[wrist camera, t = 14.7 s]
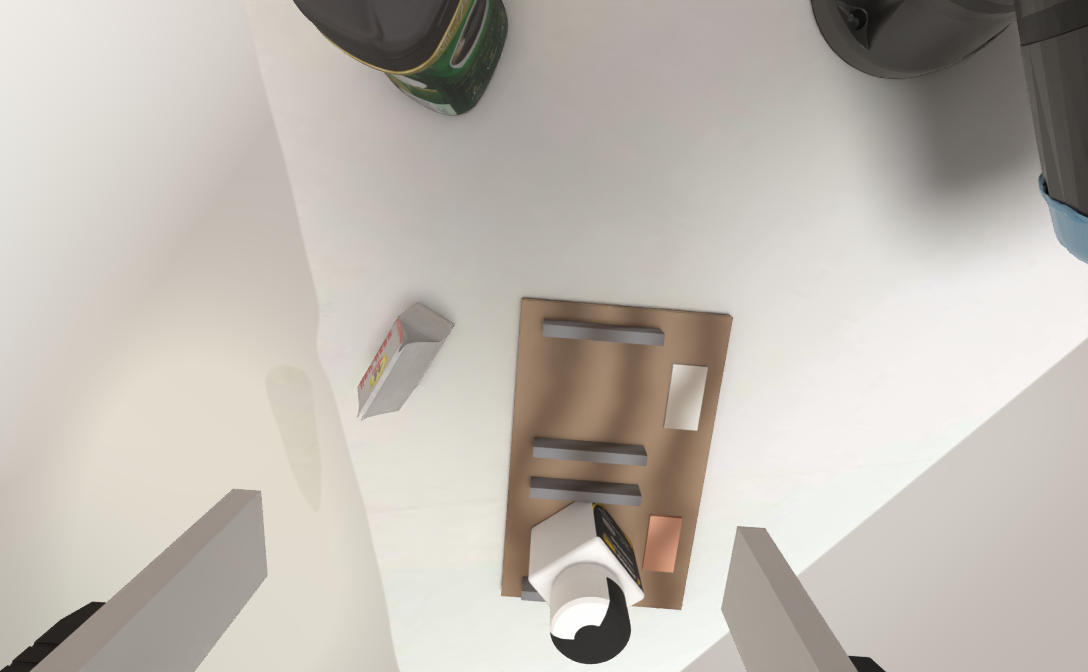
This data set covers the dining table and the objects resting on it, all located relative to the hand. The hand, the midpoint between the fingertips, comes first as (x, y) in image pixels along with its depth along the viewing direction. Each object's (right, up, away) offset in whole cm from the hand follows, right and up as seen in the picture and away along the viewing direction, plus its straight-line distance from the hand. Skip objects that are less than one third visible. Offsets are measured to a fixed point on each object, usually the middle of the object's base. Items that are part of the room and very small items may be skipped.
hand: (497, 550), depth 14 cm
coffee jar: (-6, +28, +26) cm, 39 cm away
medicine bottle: (+5, -13, +35) cm, 38 cm away
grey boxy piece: (-10, +5, +32) cm, 34 cm away
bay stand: (+7, -6, +34) cm, 35 cm away
